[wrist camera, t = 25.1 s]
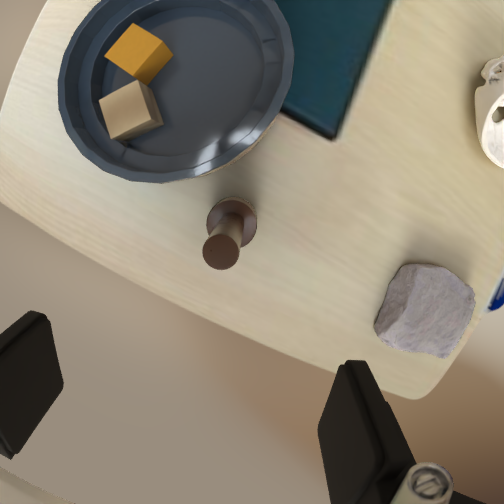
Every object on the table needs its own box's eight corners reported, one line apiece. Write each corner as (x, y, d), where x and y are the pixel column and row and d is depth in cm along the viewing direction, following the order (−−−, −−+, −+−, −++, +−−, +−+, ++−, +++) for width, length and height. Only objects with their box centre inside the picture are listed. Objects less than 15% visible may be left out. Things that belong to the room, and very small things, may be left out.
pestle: (248, 190, 30) (245, 206, 18) (262, 234, 31) (266, 275, 19) (205, 204, 30) (174, 228, 19) (219, 247, 31) (198, 294, 20)
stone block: (393, 251, 33) (365, 336, 33) (417, 255, 28) (384, 351, 29) (461, 277, 34) (437, 350, 35) (486, 283, 29) (458, 363, 30)
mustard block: (146, 37, 25) (132, 22, 21) (173, 55, 25) (162, 41, 22) (120, 67, 26) (103, 56, 22) (147, 86, 26) (132, 75, 22)
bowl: (109, 1, 24) (87, -21, 18) (296, 1, 24) (303, -28, 19) (77, 173, 29) (45, 177, 23) (272, 190, 30) (276, 196, 24)
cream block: (116, 106, 27) (98, 100, 23) (151, 89, 26) (137, 79, 22) (127, 141, 28) (110, 139, 24) (164, 124, 27) (151, 119, 23)
